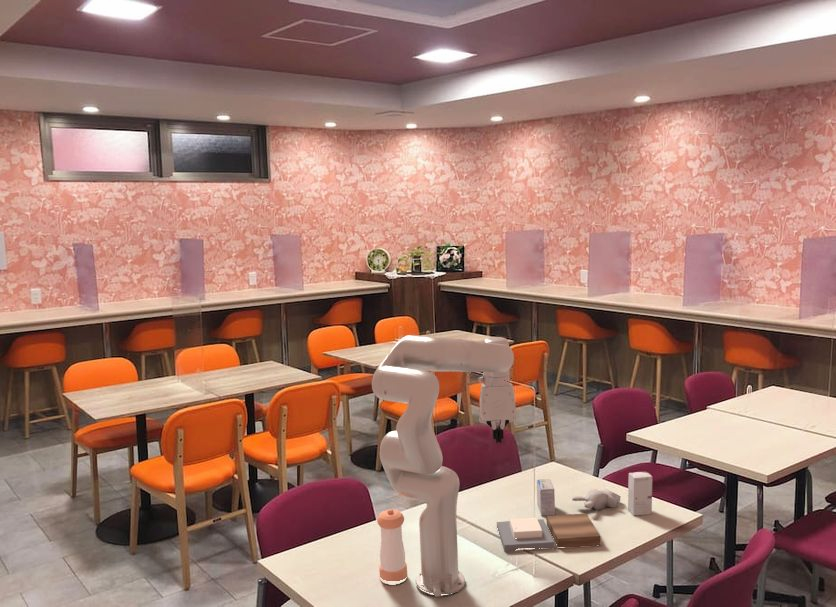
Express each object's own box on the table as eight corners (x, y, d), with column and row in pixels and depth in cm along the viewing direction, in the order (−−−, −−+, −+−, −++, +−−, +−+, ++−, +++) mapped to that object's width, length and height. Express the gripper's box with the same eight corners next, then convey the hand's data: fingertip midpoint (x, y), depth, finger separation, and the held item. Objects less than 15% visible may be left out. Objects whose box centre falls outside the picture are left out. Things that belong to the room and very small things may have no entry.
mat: (554, 548, 199) (554, 542, 199) (504, 551, 199) (504, 545, 198) (543, 525, 213) (543, 519, 213) (496, 528, 212) (496, 522, 212)
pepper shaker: (392, 568, 193) (388, 501, 190) (413, 576, 188) (409, 507, 185) (374, 579, 187) (370, 511, 184) (395, 588, 182) (391, 518, 179)
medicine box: (555, 515, 219) (554, 489, 218) (540, 516, 219) (540, 489, 218) (551, 504, 227) (550, 478, 225) (536, 504, 227) (536, 479, 226)
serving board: (600, 545, 200) (600, 535, 199) (557, 548, 199) (557, 538, 199) (586, 522, 213) (586, 513, 213) (546, 525, 213) (546, 515, 212)
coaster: (542, 537, 202) (542, 530, 202) (514, 538, 202) (513, 532, 201) (536, 524, 210) (536, 517, 209) (509, 525, 210) (509, 519, 209)
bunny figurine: (627, 494, 223) (590, 500, 216) (625, 510, 223) (588, 516, 216) (606, 484, 231) (570, 489, 224) (604, 499, 232) (568, 505, 225)
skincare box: (633, 516, 216) (633, 478, 215) (627, 509, 221) (627, 472, 219) (652, 514, 217) (653, 476, 215) (646, 507, 222) (646, 470, 220)
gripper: (472, 385, 201) (474, 447, 204) (524, 382, 202) (525, 444, 205) (469, 378, 209) (471, 438, 212) (519, 375, 209) (521, 435, 212)
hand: (498, 441), depth 208 cm, fingers closed
